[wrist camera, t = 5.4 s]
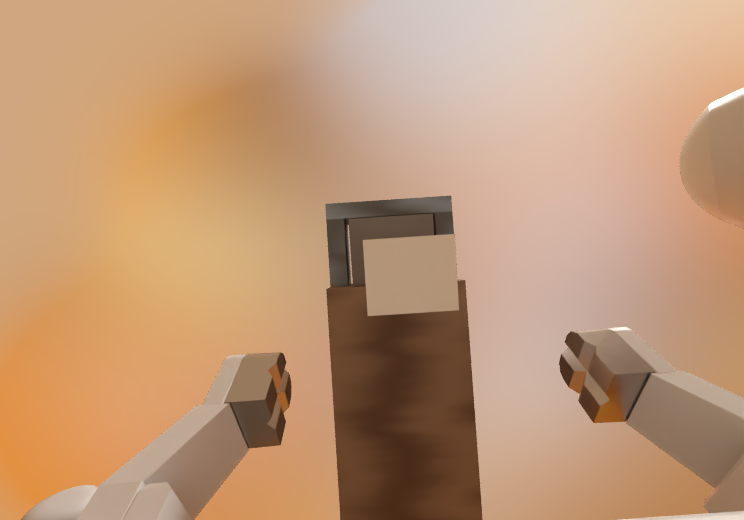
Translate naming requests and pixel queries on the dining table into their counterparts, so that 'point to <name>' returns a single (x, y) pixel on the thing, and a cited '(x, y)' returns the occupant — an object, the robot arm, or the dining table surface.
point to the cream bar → (404, 264)
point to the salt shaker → (62, 504)
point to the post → (400, 390)
